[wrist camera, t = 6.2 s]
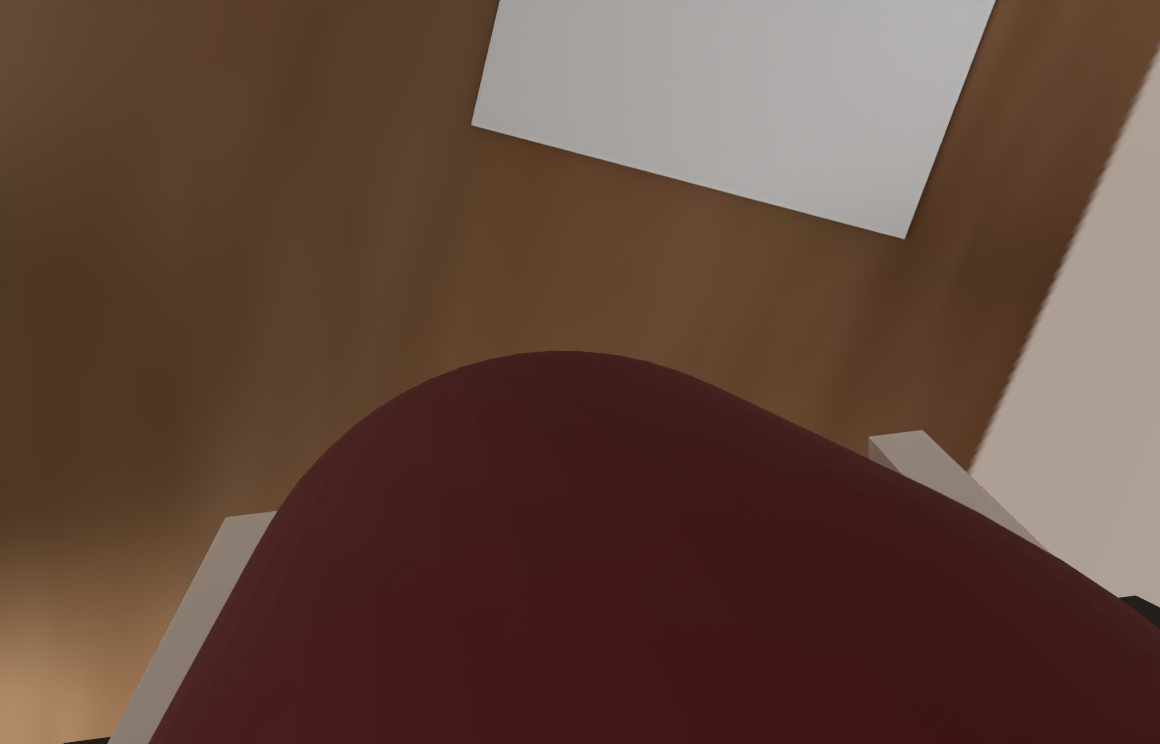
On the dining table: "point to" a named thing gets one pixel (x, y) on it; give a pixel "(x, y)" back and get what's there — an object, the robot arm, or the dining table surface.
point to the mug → (646, 587)
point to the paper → (742, 93)
